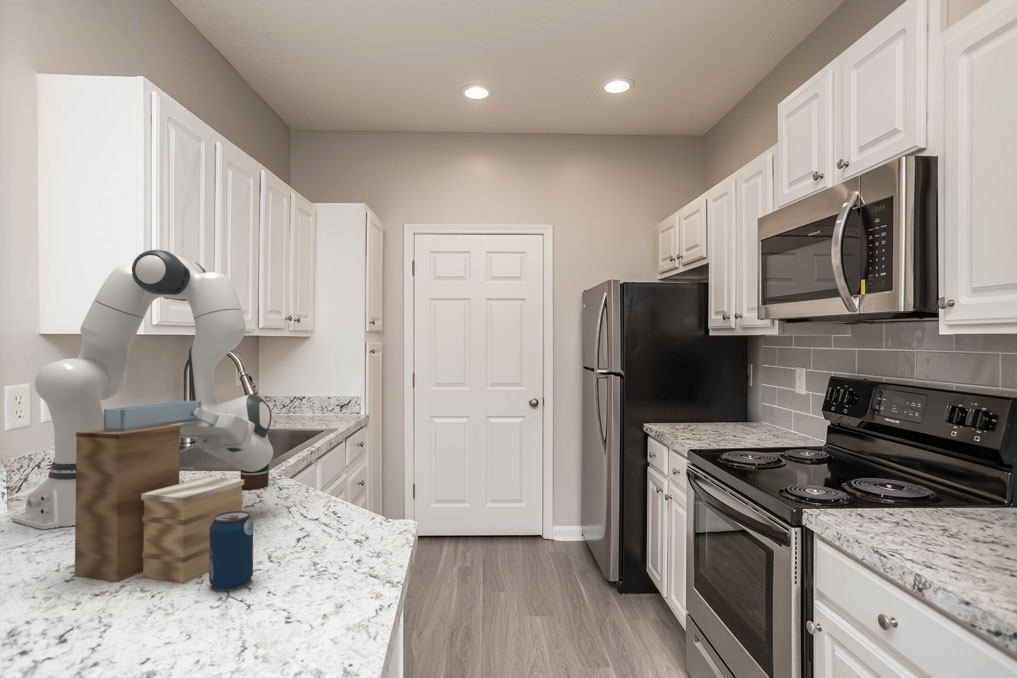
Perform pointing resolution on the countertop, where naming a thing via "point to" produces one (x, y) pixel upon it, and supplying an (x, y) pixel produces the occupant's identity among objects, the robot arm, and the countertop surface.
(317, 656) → the countertop surface
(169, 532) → the oak crate
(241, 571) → the soda can
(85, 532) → the walnut stand
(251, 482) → the beer bottle
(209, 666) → the countertop surface
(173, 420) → the blue-gray container
